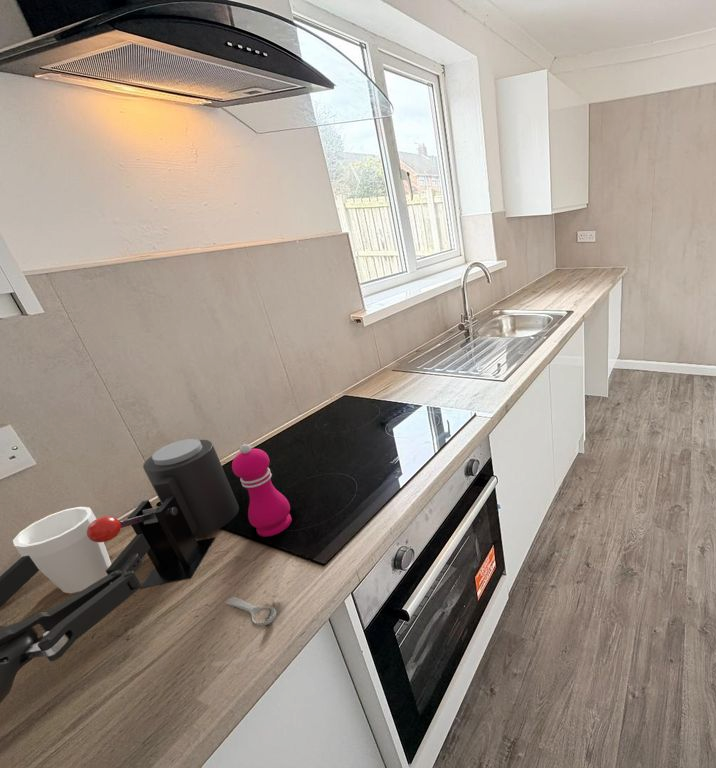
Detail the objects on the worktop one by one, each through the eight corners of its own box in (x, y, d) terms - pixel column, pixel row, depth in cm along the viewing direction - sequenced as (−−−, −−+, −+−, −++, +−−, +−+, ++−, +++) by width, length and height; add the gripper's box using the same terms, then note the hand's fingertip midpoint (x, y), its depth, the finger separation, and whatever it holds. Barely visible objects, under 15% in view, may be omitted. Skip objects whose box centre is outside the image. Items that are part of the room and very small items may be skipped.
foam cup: (68, 573, 76) (31, 518, 71) (131, 553, 80) (100, 500, 75) (43, 614, 68) (-1, 555, 63) (114, 590, 72) (78, 532, 67)
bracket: (193, 582, 72) (161, 521, 67) (142, 593, 71) (105, 531, 65) (217, 541, 81) (191, 484, 76) (172, 550, 80) (142, 492, 74)
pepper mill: (260, 522, 86) (227, 439, 78) (298, 513, 88) (269, 431, 80) (251, 546, 79) (214, 459, 71) (292, 536, 81) (260, 450, 73)
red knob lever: (109, 542, 59) (107, 516, 59) (80, 547, 58) (78, 522, 59) (173, 521, 73) (171, 500, 73) (150, 525, 72) (148, 504, 73)
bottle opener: (266, 632, 62) (261, 623, 62) (217, 612, 67) (212, 603, 67) (283, 615, 65) (278, 606, 64) (235, 597, 70) (230, 588, 69)
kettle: (224, 543, 81) (188, 465, 74) (161, 555, 79) (118, 477, 72) (252, 493, 95) (225, 424, 88) (200, 502, 93) (167, 432, 86)
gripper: (-213, 785, 38) (-3, 592, 57) (100, 707, 42) (197, 552, 61) (-282, 738, 35) (-36, 551, 54) (63, 659, 39) (177, 512, 58)
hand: (88, 552), depth 58 cm, fingers open, 13 cm apart
